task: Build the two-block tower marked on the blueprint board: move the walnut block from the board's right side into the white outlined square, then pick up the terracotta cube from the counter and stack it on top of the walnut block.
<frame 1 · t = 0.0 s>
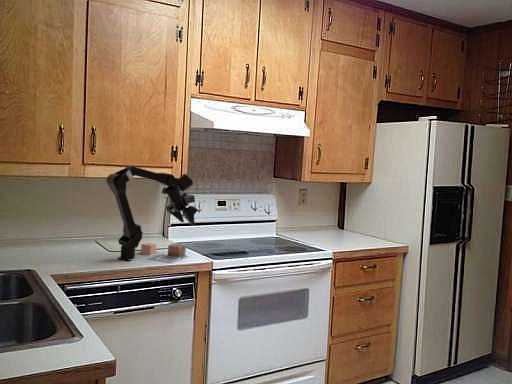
hand: (188, 223, 238), 15 cm above the counter, tool tilted 35°, fingers open, 9 cm apart
walnut block: (176, 255, 230), point 1 cm above the counter, touching blueprint board
blueprint board: (168, 258, 225), on the counter
terracotta cube: (148, 254, 231), on the counter
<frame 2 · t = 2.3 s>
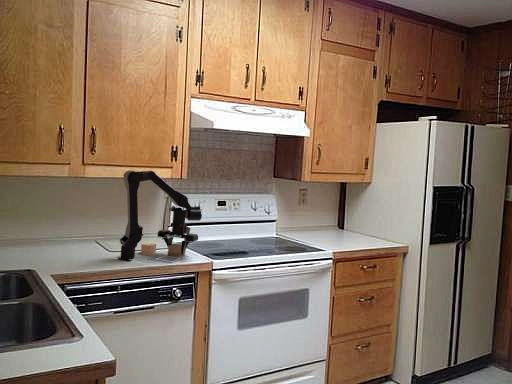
hand: (176, 253, 230), 2 cm above the counter, tool pointing down, fingers closed on walnut block, 6 cm apart
walnut block: (176, 255, 230), point 1 cm above the counter, touching blueprint board, gripper
everything else where it was.
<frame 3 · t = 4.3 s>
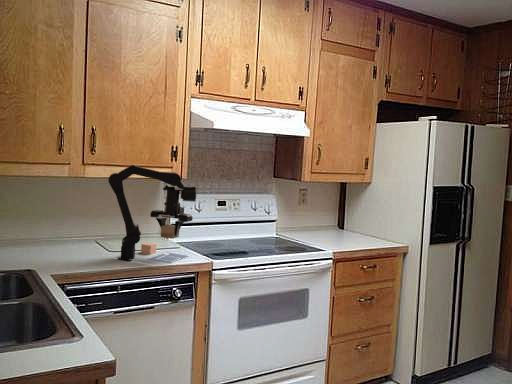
hand: (170, 234, 222), 12 cm above the counter, tool pointing down, fingers closed on walnut block, 6 cm apart
walnut block: (169, 236, 222), point 11 cm above the counter, touching gripper
everything else where it was.
when the fingers open (3 cm above the counter, at t = 6.3 s): walnut block drops 1 cm, resting on blueprint board.
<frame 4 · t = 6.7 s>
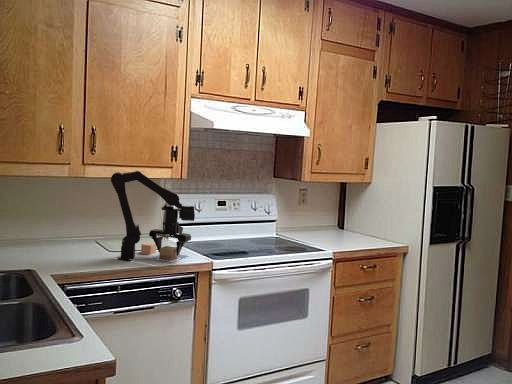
hand: (168, 254, 223), 3 cm above the counter, tool pointing down, fingers open, 9 cm apart
walnut block: (168, 258, 223), point 1 cm above the counter, touching blueprint board
everything else where it was.
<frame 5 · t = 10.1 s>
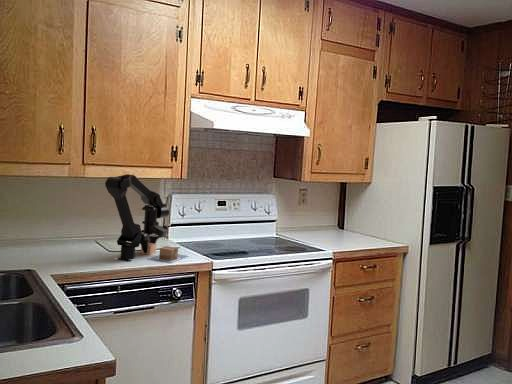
hand: (148, 252, 231), 1 cm above the counter, tool pointing down, fingers closed on terracotta cube, 5 cm apart
terracotta cube: (148, 254, 231), on the counter, touching gripper
everything else where it was.
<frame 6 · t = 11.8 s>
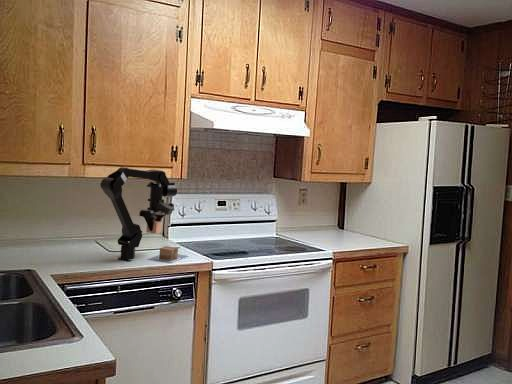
hand: (154, 230, 228), 12 cm above the counter, tool pointing down, fingers closed on terracotta cube, 5 cm apart
terracotta cube: (153, 232, 229), point 11 cm above the counter, touching gripper
everything else where it was.
when the fingers open (8 cm above the counter, at t = 13.8 s): terracotta cube stays where it is, resting on walnut block.
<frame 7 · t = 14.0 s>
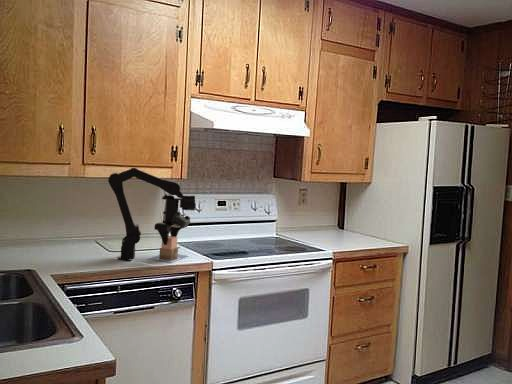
hand: (169, 243, 222), 8 cm above the counter, tool pointing down, fingers open, 7 cm apart
walnut block: (168, 258, 223), point 1 cm above the counter, touching blueprint board, terracotta cube
terracotta cube: (169, 247, 223), point 6 cm above the counter, touching walnut block
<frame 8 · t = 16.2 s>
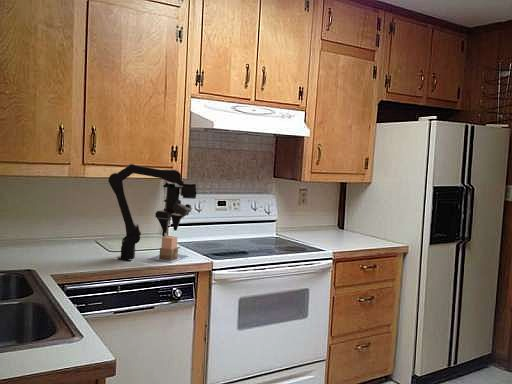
hand: (170, 231, 222), 13 cm above the counter, tool pointing down, fingers open, 9 cm apart
nothing on the counter moved.
at the end: walnut block 0.0 cm from the target spot, point 0.6 cm above the counter; terracotta cube 0.0 cm off-centre on the walnut block, point 5.0 cm above the walnut block's base; terracotta cube tilted 0° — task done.
